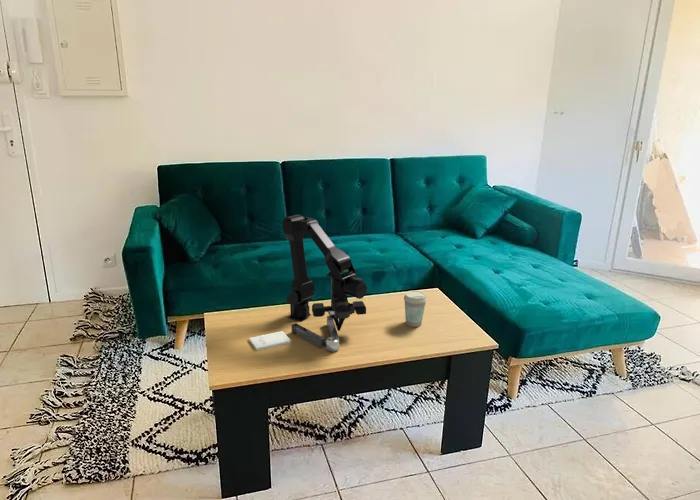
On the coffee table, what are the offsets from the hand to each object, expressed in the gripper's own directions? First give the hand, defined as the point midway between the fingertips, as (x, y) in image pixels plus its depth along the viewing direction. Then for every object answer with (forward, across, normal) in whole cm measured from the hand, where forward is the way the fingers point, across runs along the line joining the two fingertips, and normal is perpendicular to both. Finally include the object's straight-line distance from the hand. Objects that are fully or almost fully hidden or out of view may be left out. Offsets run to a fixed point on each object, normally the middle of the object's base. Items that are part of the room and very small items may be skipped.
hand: (338, 330), depth 190 cm
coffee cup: (+2, +30, +5) cm, 30 cm away
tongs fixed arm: (+1, -11, -3) cm, 12 cm away
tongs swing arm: (+1, -3, -3) cm, 4 cm away
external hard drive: (+2, -24, -2) cm, 25 cm away
